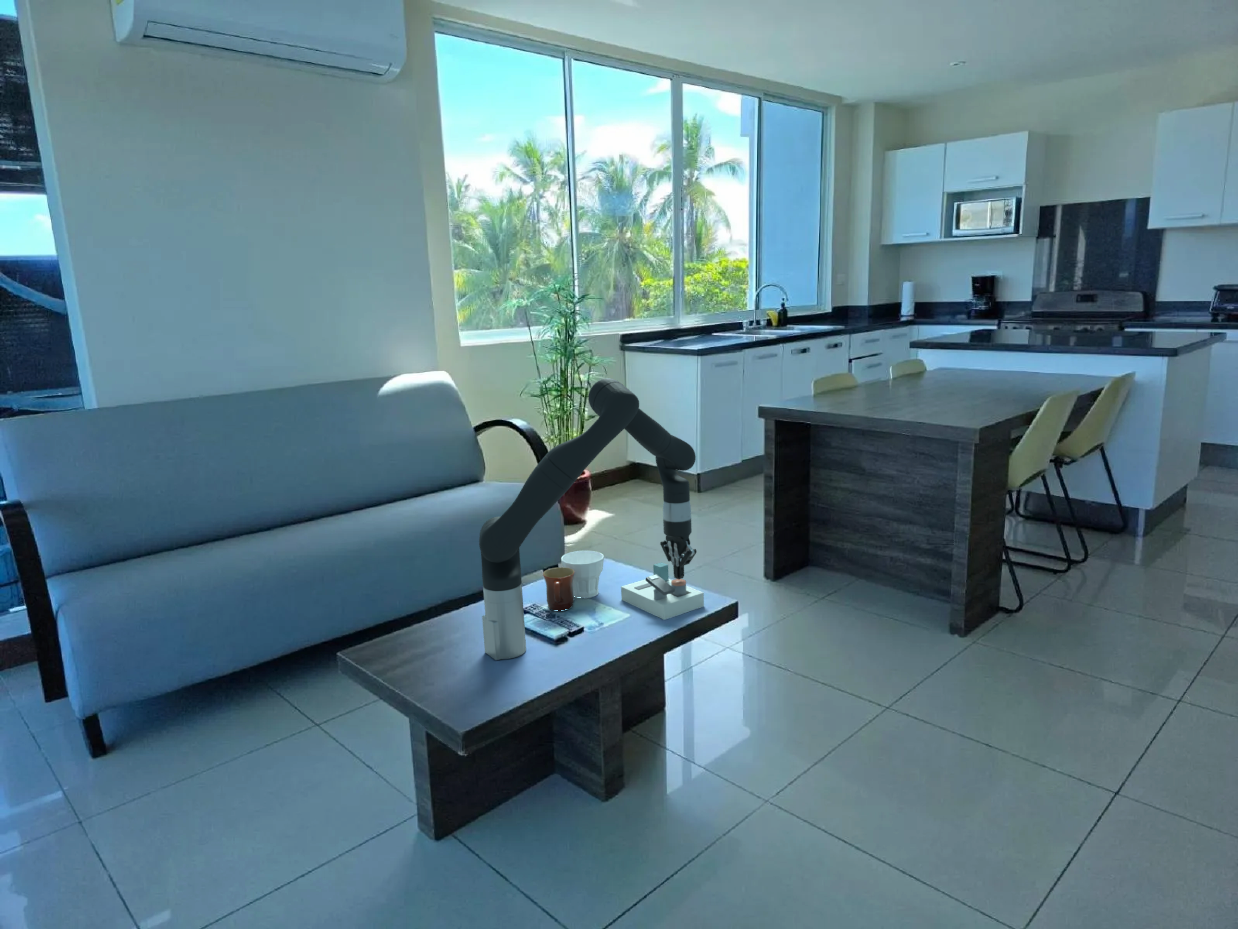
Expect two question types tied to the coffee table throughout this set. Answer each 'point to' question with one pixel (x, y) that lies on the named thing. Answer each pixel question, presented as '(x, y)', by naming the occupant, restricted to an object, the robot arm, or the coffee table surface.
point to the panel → (661, 599)
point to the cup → (584, 571)
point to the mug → (559, 588)
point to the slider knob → (661, 570)
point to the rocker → (660, 584)
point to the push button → (679, 587)
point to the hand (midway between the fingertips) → (678, 578)
